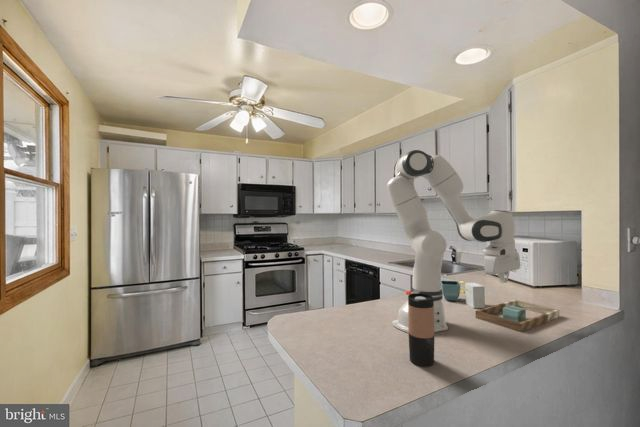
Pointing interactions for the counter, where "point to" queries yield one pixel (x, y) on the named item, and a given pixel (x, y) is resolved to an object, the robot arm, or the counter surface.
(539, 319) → the striped wooden tray
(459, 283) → the watch
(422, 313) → the travel mug
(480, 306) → the small box
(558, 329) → the counter surface
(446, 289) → the flower pot
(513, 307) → the teal block
